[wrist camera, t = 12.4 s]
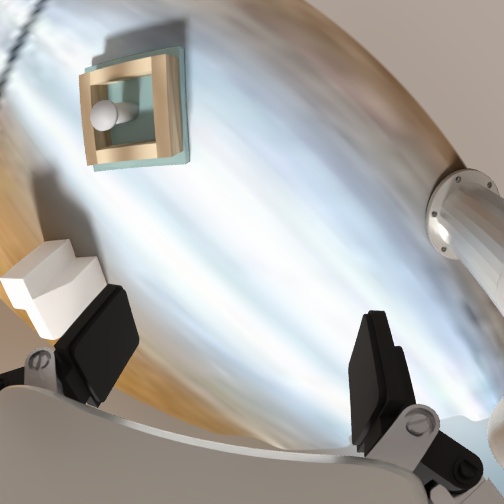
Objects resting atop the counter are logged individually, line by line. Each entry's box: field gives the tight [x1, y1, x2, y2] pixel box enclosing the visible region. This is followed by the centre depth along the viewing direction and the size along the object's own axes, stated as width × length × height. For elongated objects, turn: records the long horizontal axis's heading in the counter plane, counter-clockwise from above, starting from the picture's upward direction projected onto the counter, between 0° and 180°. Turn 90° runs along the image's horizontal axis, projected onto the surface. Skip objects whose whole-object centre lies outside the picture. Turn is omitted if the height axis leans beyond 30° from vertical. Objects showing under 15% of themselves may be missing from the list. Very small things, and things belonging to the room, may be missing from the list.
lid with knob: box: [85, 46, 190, 172], centre depth 29 cm, size 13×14×8 cm
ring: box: [79, 54, 183, 166], centre depth 29 cm, size 11×11×4 cm
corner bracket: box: [0, 239, 107, 340], centre depth 39 cm, size 11×11×12 cm
